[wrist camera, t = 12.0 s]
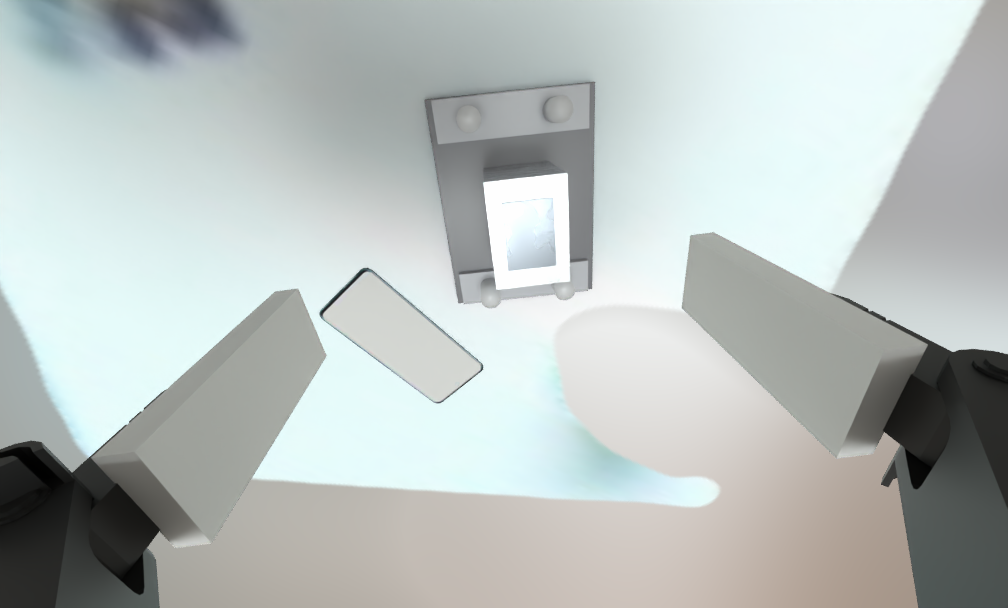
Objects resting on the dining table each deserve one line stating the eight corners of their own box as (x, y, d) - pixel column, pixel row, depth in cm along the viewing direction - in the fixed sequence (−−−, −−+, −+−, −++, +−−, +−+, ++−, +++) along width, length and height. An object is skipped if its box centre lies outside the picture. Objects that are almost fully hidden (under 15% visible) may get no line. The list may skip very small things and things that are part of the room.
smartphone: (365, 265, 32) (485, 367, 37) (367, 263, 32) (485, 364, 38) (316, 315, 34) (437, 405, 39) (318, 312, 34) (438, 402, 40)
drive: (483, 168, 28) (483, 183, 22) (548, 160, 28) (568, 173, 22) (493, 255, 31) (496, 290, 25) (552, 248, 31) (570, 282, 25)
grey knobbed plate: (426, 100, 27) (418, 97, 23) (591, 82, 27) (607, 77, 23) (459, 299, 34) (456, 319, 30) (589, 285, 34) (601, 303, 31)
